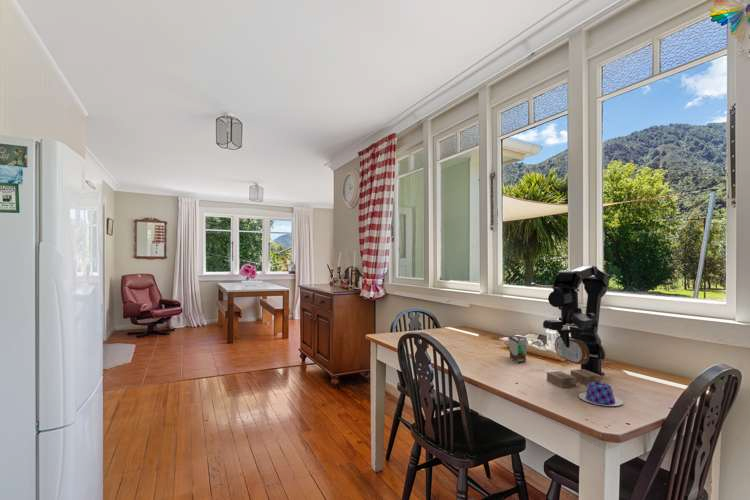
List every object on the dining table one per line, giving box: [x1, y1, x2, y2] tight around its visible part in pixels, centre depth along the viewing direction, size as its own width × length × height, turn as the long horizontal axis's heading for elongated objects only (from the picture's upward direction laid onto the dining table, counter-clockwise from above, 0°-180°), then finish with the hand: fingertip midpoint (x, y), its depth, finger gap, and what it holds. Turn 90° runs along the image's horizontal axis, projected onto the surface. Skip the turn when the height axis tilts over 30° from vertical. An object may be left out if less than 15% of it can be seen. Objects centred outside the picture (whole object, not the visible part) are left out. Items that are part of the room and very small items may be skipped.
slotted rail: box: [546, 368, 602, 388], centre depth 134 cm, size 16×8×3 cm, turn 102°
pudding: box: [578, 381, 624, 407], centre depth 117 cm, size 12×12×5 cm
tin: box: [554, 335, 589, 365], centre depth 135 cm, size 15×3×8 cm, turn 11°
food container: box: [508, 334, 529, 364], centre depth 164 cm, size 12×6×10 cm, turn 179°
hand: (570, 347), depth 135 cm, fingers closed on tin, 3 cm apart
